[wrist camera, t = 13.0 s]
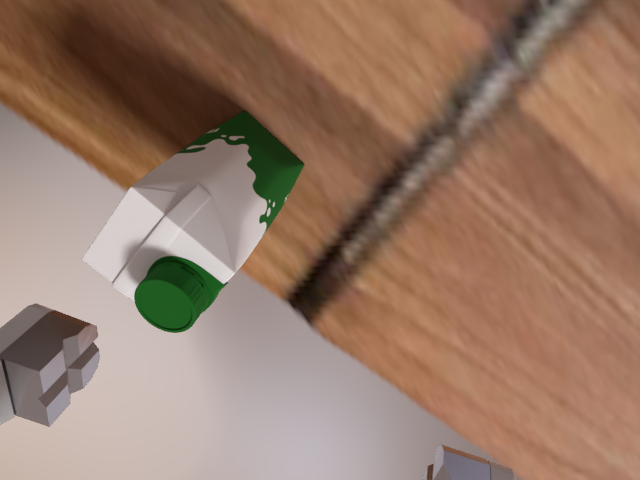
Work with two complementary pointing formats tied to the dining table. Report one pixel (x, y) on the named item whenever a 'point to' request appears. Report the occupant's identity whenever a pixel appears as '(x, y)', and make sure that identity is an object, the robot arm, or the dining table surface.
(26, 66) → the dining table surface
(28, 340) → the robot arm
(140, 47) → the dining table surface
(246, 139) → the milk carton
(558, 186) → the dining table surface
